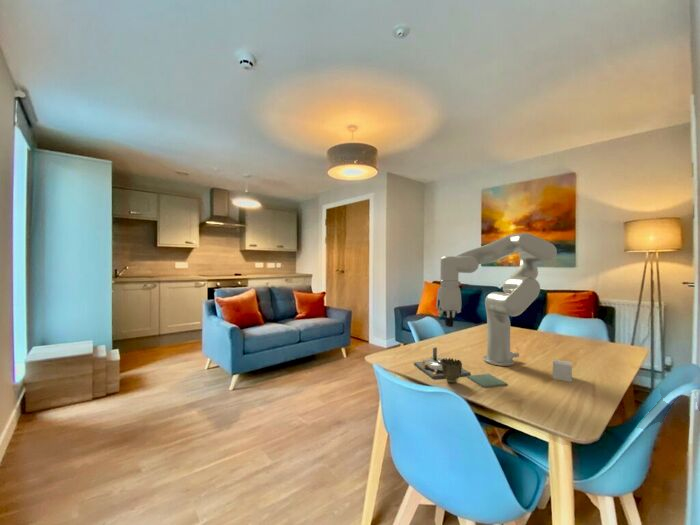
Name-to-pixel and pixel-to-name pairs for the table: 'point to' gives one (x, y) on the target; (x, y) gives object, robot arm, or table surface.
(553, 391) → the table surface
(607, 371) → the table surface
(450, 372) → the cup
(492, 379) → the seat mat
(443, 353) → the table surface
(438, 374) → the index board
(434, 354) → the sprocket wheel
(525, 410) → the table surface
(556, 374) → the grey cube
